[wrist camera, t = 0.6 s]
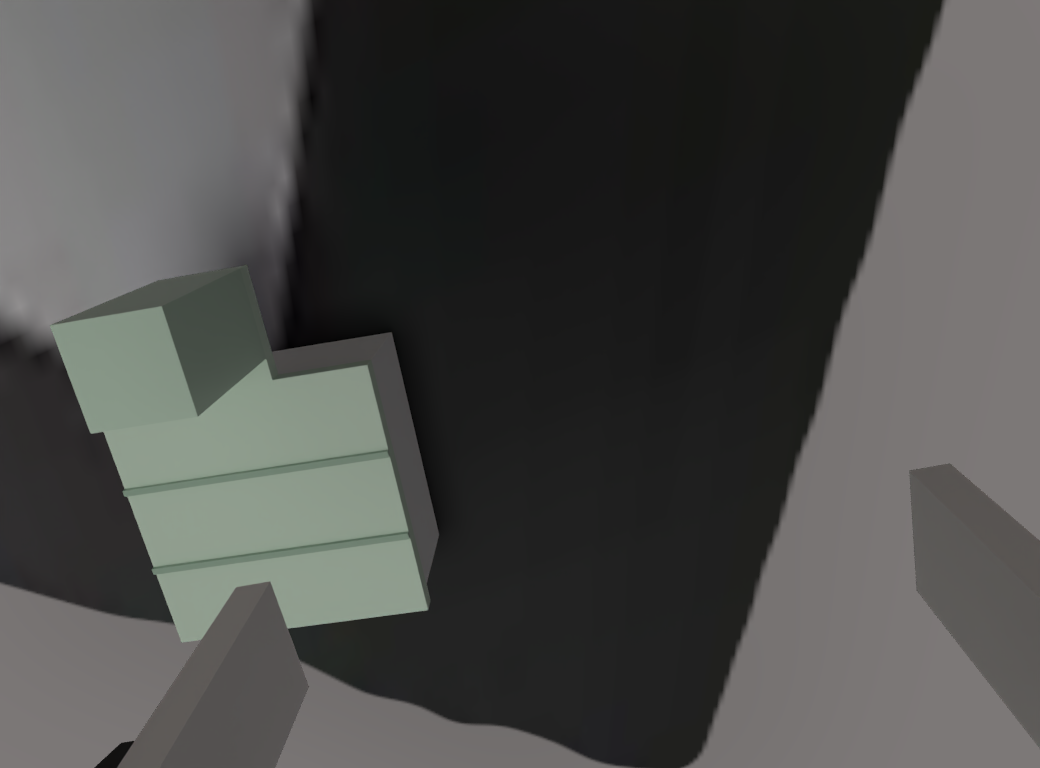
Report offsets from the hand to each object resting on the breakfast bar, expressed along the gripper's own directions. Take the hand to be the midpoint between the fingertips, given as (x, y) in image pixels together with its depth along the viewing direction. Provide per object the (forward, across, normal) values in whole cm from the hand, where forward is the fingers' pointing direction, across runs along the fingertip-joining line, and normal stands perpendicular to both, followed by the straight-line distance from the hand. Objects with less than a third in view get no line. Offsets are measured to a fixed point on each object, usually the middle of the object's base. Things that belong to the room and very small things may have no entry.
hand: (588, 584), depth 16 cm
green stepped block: (+19, -15, -3) cm, 24 cm away
